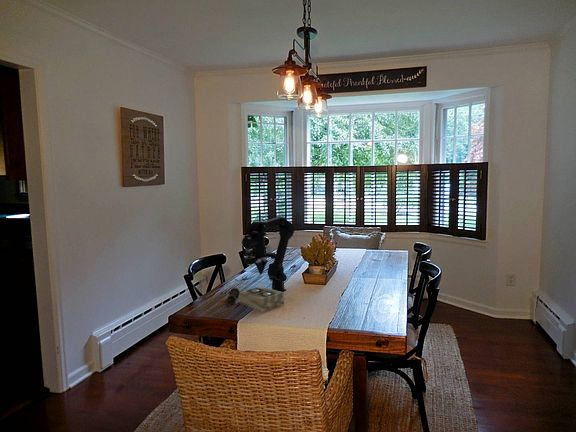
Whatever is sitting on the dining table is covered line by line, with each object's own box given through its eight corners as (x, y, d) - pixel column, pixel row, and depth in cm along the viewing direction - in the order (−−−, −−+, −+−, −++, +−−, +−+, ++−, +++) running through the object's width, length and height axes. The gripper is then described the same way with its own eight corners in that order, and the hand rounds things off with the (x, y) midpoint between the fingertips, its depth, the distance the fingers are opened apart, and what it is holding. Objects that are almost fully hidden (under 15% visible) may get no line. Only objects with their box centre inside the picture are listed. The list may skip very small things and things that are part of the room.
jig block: (260, 297, 225) (260, 285, 224) (283, 303, 212) (283, 291, 211) (239, 303, 215) (239, 291, 214) (262, 311, 202) (262, 298, 202)
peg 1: (256, 299, 219) (255, 288, 219) (261, 300, 217) (260, 289, 216) (250, 301, 217) (249, 290, 216) (255, 302, 214) (254, 291, 213)
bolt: (228, 309, 213) (234, 299, 228) (237, 304, 213) (241, 294, 227) (222, 300, 213) (228, 290, 227) (230, 295, 212) (235, 285, 227)
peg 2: (267, 302, 213) (267, 291, 212) (273, 304, 210) (272, 293, 210) (261, 304, 210) (261, 293, 210) (267, 306, 207) (266, 295, 207)
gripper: (262, 240, 233) (263, 268, 235) (235, 246, 220) (237, 275, 222) (276, 242, 225) (277, 271, 227) (249, 248, 212) (251, 278, 214)
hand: (260, 273), depth 222 cm, fingers closed
